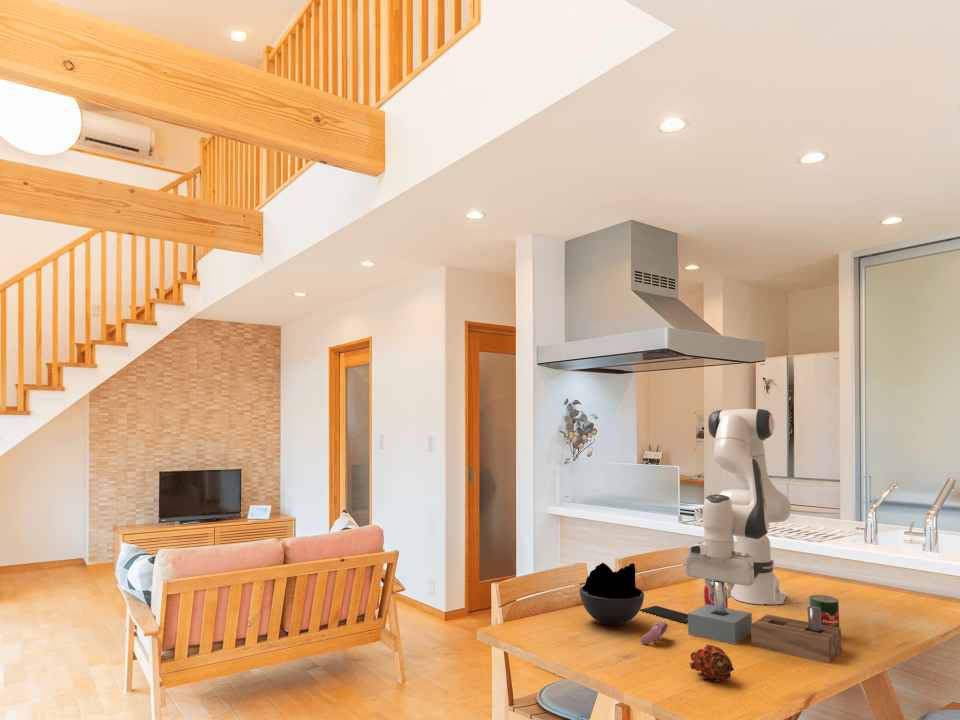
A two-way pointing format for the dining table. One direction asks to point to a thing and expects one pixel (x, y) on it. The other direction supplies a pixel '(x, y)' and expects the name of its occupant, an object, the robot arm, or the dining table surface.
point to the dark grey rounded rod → (814, 619)
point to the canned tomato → (827, 609)
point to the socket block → (719, 624)
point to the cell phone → (667, 614)
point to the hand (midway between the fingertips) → (719, 596)
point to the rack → (796, 638)
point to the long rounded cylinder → (719, 598)
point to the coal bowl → (612, 595)
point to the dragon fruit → (712, 663)
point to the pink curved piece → (655, 633)
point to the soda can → (711, 596)
